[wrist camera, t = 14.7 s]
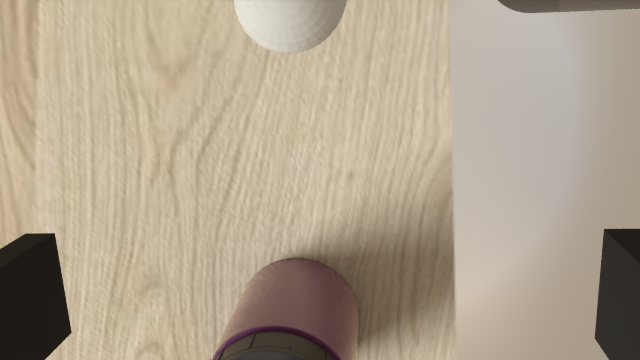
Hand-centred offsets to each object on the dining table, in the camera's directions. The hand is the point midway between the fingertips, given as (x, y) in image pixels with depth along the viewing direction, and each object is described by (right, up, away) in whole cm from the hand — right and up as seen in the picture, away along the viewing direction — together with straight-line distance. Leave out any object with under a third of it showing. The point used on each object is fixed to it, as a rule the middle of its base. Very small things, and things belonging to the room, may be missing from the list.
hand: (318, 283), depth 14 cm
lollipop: (0, +15, +29) cm, 33 cm away
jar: (-2, -9, +35) cm, 36 cm away
